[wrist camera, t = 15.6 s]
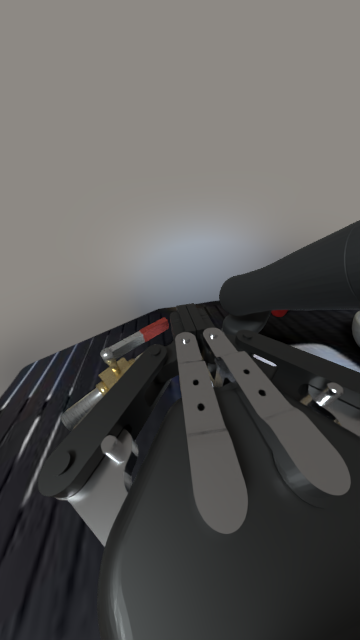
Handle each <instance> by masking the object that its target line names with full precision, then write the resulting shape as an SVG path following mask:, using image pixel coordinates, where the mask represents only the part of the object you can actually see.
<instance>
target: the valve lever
mask: <svg viewBox="0 0 360 640" xmlns="http://www.w3.org/2000/svg"><path fill="white" fill-rule="evenodd" d="M168 328H169V327H168V320H167V319H166V318H164V317H163V318H162V319H160V320H158V321H156V322H154V323H152V324H150V325H149V326H147V327H145V328H143V329H141V330H139V332H137V333H135V334H133V335H131V336H129V337H128V338H126V339H124V340H122V341H120V342H118V343H116V344H115V345H113V346H111V347H109V348H105V349H103V350H102V351H101V353H100V355H101V357H102V358H103V360H104V362H105V363H106V364H110V363H113V362H114V361H115V359H117V358H119V357H120V356H122V355H124V354H125V353H127V352H129V351H130V350H132V349H134V348H135V347H137V346H139V345H140V344H142V343H144V342H146V341H148V340H150V339H151V338H153V337H155V336H156V335H158V334H160V333H161V332H163V331H165V330H166V329H168Z"/></svg>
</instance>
